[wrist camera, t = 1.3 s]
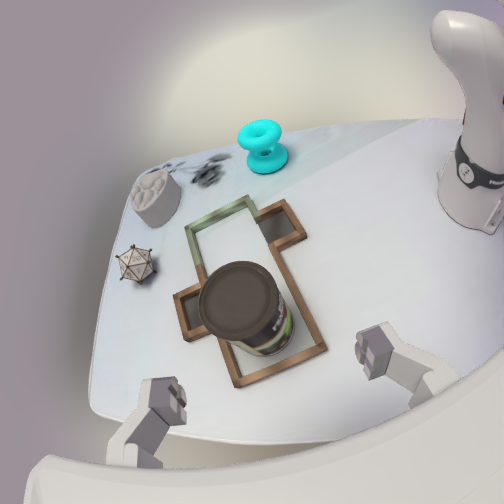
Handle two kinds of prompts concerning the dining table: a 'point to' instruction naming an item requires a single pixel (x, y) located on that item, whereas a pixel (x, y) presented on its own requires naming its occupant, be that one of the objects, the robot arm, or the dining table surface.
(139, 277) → the game die
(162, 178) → the lumpy-topped squat cylinder
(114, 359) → the dining table surface
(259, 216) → the brown wooden frame
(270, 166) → the donuts
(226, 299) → the coffee can
